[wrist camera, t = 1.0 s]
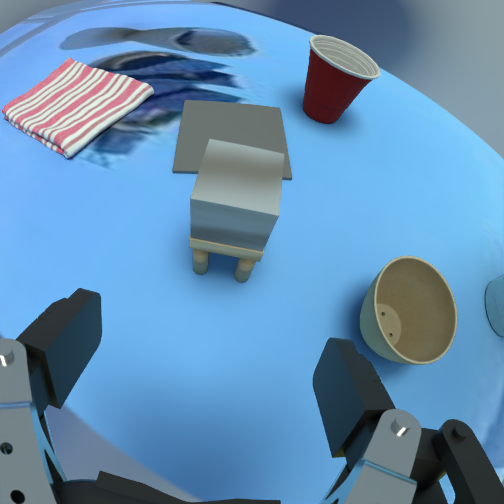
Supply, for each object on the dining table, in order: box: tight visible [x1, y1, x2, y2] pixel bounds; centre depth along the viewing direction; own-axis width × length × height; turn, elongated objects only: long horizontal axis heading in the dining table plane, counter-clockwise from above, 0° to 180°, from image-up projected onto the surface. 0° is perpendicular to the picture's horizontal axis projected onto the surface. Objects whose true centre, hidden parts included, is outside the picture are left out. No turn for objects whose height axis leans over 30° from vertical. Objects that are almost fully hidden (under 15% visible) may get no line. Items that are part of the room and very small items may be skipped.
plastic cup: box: [303, 35, 381, 124], centre depth 38 cm, size 11×11×12 cm
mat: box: [173, 100, 292, 180], centre depth 37 cm, size 14×14×1 cm
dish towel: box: [2, 58, 154, 158], centre depth 35 cm, size 17×23×4 cm
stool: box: [189, 139, 284, 283], centre depth 24 cm, size 6×6×12 cm
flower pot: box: [360, 256, 457, 365], centre depth 26 cm, size 10×10×7 cm
